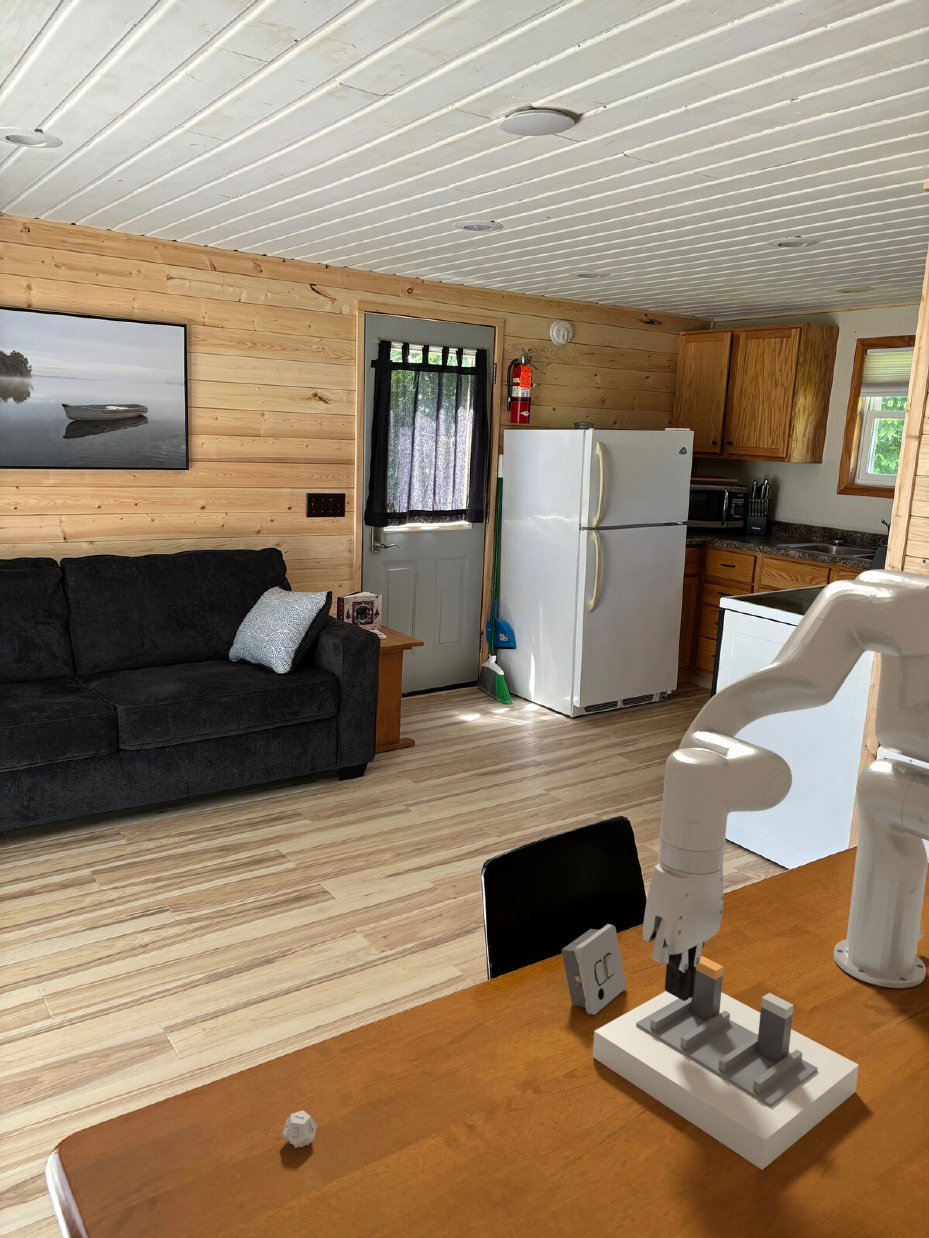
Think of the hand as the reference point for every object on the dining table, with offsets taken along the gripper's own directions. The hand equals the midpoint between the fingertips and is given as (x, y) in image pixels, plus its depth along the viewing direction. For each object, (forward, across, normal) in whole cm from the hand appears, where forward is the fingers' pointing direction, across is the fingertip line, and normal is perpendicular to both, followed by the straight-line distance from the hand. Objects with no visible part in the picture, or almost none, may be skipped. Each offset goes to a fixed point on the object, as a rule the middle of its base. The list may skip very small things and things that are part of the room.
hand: (679, 993), depth 117 cm
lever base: (+9, -3, +5) cm, 11 cm away
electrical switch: (+10, -3, -16) cm, 19 cm away
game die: (+10, +43, -17) cm, 47 cm away
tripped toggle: (+5, -6, 0) cm, 8 cm away
